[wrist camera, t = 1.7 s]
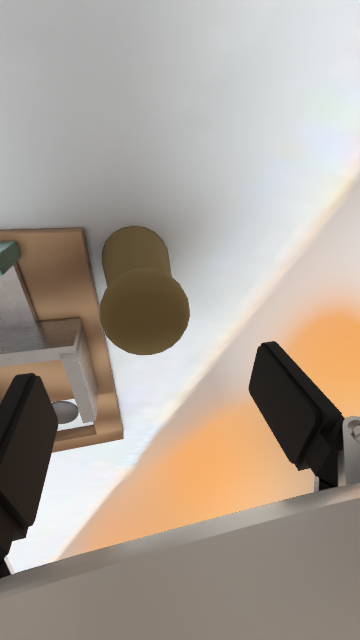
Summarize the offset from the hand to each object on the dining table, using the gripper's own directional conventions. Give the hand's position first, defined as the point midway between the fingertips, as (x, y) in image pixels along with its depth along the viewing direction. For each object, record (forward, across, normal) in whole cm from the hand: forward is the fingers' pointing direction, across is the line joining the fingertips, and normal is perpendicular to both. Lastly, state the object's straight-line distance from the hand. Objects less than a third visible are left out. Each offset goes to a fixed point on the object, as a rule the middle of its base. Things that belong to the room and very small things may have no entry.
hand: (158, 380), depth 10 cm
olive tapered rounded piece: (+14, 0, -1) cm, 14 cm away
